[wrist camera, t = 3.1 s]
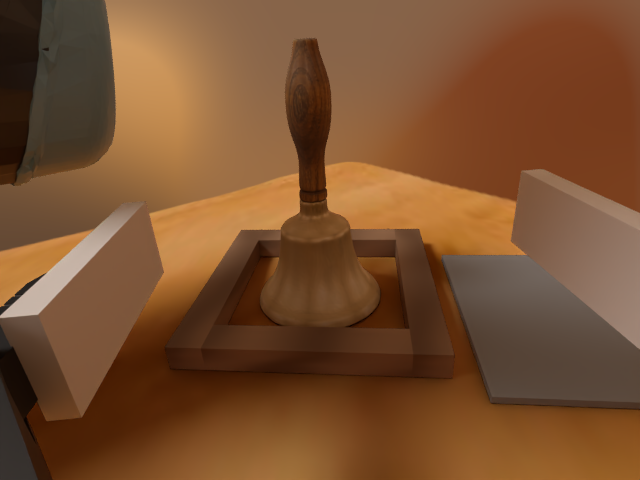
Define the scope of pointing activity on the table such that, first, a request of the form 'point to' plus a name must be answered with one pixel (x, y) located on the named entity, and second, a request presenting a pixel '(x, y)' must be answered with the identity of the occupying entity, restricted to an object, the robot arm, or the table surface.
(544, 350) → the rubber mat
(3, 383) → the robot arm
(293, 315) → the hand bell
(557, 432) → the table surface
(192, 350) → the square frame
